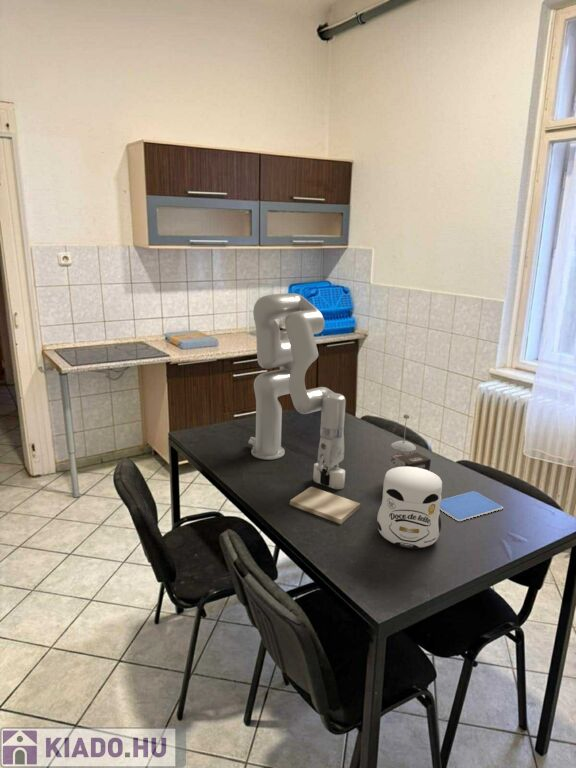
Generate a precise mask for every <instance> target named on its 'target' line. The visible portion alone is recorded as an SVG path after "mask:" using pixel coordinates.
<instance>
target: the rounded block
mask: <svg viewBox="0 0 576 768" xmlns="http://www.w3.org/2000/svg"><path fill="white" fill-rule="evenodd" d="M324 464H325V463H324ZM317 467H318V462H316V463H313V477H312V480H313V482H314V483H316V484H320V485H323V484H321V483H320V476H321V473H320V471H319V470H317ZM324 469H325V470H326V469H327V468H326V467H324ZM329 475H330V480H329V486H326V485H323V486H326V487H328V488H330V489H334V490H343V489H344V488H345V480H346V470H345V469H344V468H341V467H334V466H333V467H332V468H330V469H329Z"/></svg>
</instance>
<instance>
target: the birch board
mask: <svg viewBox="0 0 576 768" xmlns="http://www.w3.org/2000/svg"><path fill="white" fill-rule="evenodd" d="M289 505H290V506H292V507H295V508H297V509H299V510H302V511H305V512H308V513H311V514H314V515H316V516H318V517H321V518H324V519H326V520H328V521H331V522H334V523H337V524H338V525H339V524H340V525H341V524H343V523H344V522H345V521H346V520H348V518H350V517H351V516H353V514H355V513H356V512H357V511H358V510H360V508H361V503H360V502H357V501H354V500H351V499H348V498H346V497H344V496H340V495H337V494H334V493H332V492H330V491H325V490H322V489H320V488H317V487H314V486H310V487H308V488H306V489H305V490H304V491H302V492H301V493H299V494H297V495H296V496H294V497H293V498H291V499H290V500H289Z"/></svg>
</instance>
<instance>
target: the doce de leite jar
mask: <svg viewBox="0 0 576 768" xmlns="http://www.w3.org/2000/svg"><path fill="white" fill-rule="evenodd" d="M442 490H443V481H442V479H441V477H440V476H439V475H437V474H436V473H434V472H432V471H431V470H429V471H428V470H425V469H421V468H417V467H408V466H406V467H396V468H392V469H390V470H387V471H386V473H385V475H384V479H383V487H382V500H381V503H380V507H379V509H378V511H377V516H376V517H377V518H376V523H377V530H378V531H379V534H380V536H382V537H383V538H384V539H385V540H386V542H387V541H388V542H389V543H391V544H392V545H395V546H399V547H401V548H403V549H404V548H405V549H413V550H414V549H424V548H428V547H429V546H432V545H434V544H435V542H437V540H438V539H439V536H440V534H441V529H442V519H441V511H440V503H441V500H442V492H443V491H442Z"/></svg>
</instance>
